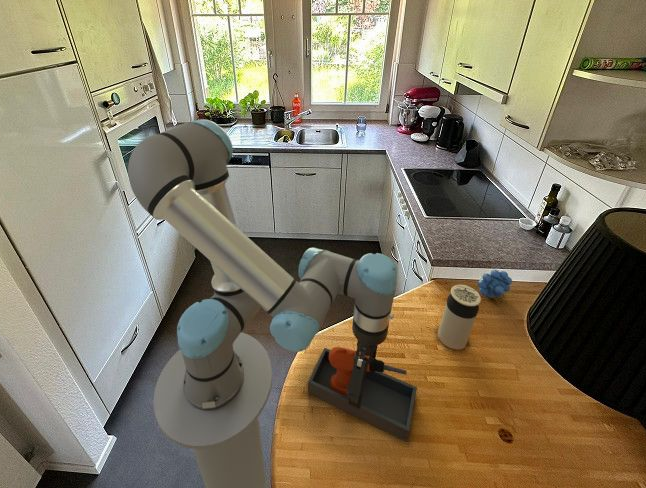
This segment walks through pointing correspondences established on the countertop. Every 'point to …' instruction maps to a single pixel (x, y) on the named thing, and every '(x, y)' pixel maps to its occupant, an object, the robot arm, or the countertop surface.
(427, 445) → the countertop surface
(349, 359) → the toy drill
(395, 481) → the countertop surface
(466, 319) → the travel mug
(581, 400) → the countertop surface
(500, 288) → the grapes
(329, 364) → the tray
